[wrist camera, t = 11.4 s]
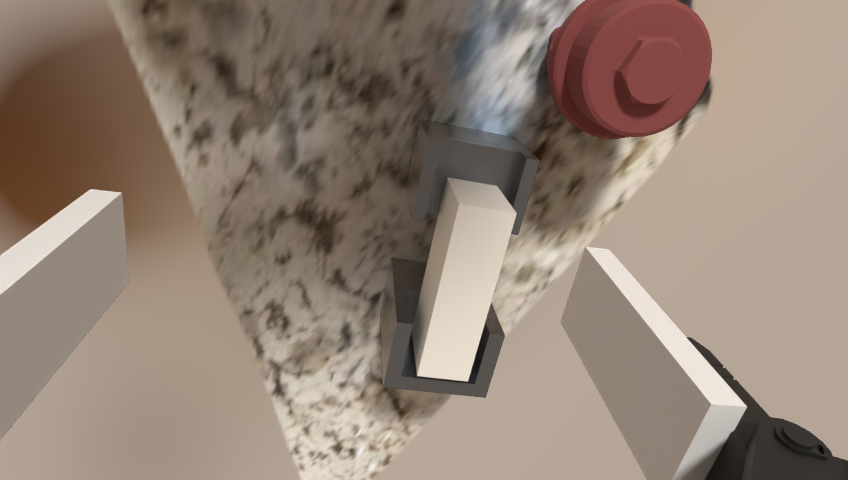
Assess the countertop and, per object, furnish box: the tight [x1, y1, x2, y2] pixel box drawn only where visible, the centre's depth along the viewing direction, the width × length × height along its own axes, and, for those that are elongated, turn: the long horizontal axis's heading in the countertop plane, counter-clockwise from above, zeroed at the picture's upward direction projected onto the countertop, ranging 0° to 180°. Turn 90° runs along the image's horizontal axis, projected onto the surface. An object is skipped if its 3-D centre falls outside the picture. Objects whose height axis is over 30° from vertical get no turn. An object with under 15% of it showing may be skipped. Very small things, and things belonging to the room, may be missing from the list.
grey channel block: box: [406, 119, 540, 235], centre depth 42 cm, size 6×8×8 cm
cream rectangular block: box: [412, 177, 517, 382], centre depth 40 cm, size 14×4×6 cm, turn 168°
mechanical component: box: [547, 0, 712, 139], centre depth 38 cm, size 12×10×10 cm
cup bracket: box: [381, 258, 505, 398], centre depth 46 cm, size 6×8×11 cm
